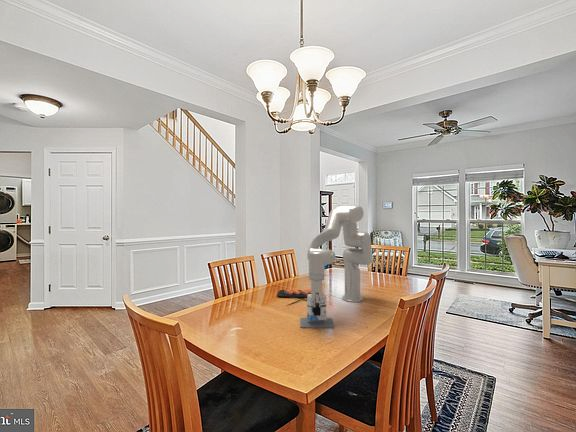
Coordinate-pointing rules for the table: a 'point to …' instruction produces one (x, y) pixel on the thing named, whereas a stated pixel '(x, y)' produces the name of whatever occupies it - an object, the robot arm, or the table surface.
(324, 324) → the mat
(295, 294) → the sushi plate
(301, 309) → the table surface
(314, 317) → the ink box
